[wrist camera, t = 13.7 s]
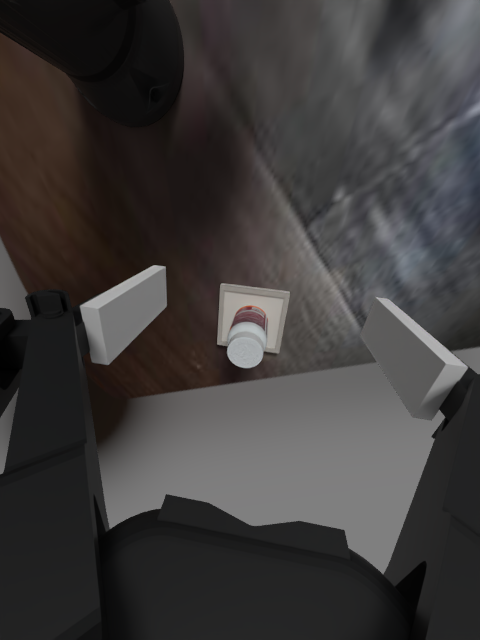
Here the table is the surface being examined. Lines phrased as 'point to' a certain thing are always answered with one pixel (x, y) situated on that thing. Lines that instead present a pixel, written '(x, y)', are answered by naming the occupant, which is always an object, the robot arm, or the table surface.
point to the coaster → (261, 297)
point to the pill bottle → (247, 336)
